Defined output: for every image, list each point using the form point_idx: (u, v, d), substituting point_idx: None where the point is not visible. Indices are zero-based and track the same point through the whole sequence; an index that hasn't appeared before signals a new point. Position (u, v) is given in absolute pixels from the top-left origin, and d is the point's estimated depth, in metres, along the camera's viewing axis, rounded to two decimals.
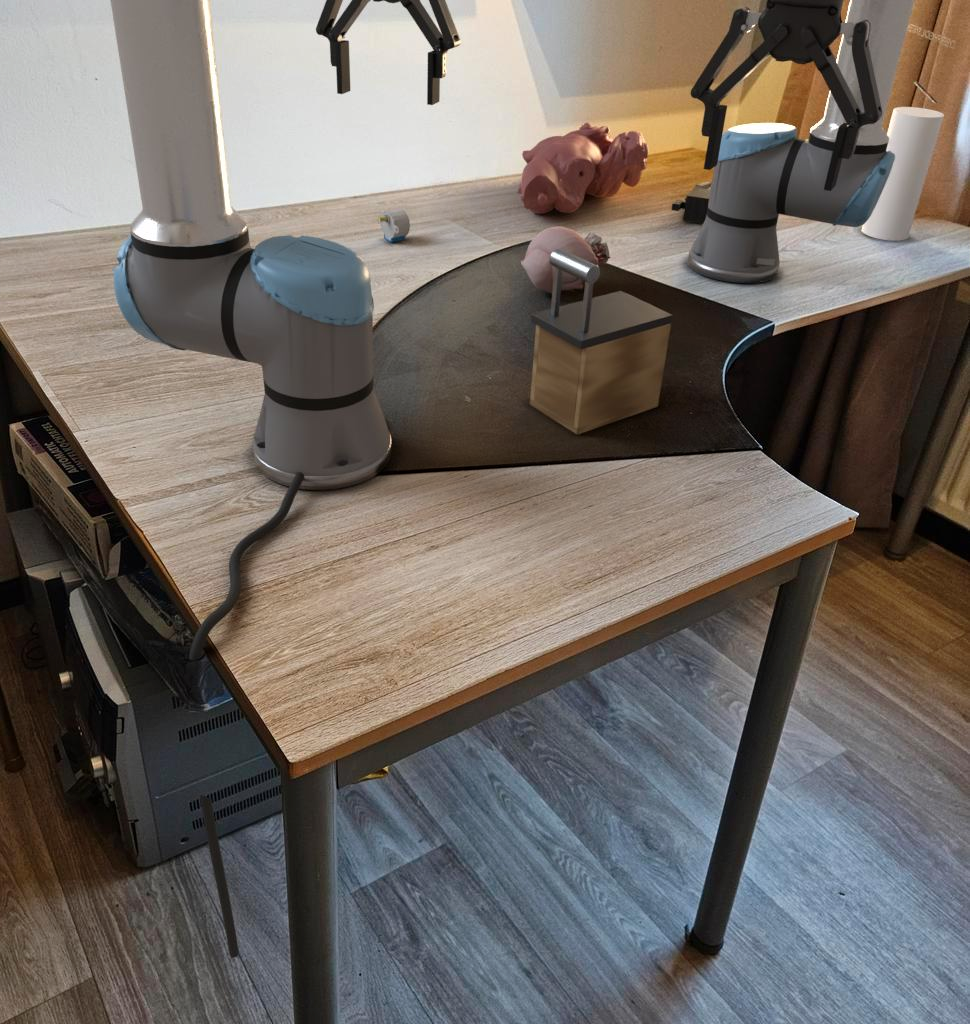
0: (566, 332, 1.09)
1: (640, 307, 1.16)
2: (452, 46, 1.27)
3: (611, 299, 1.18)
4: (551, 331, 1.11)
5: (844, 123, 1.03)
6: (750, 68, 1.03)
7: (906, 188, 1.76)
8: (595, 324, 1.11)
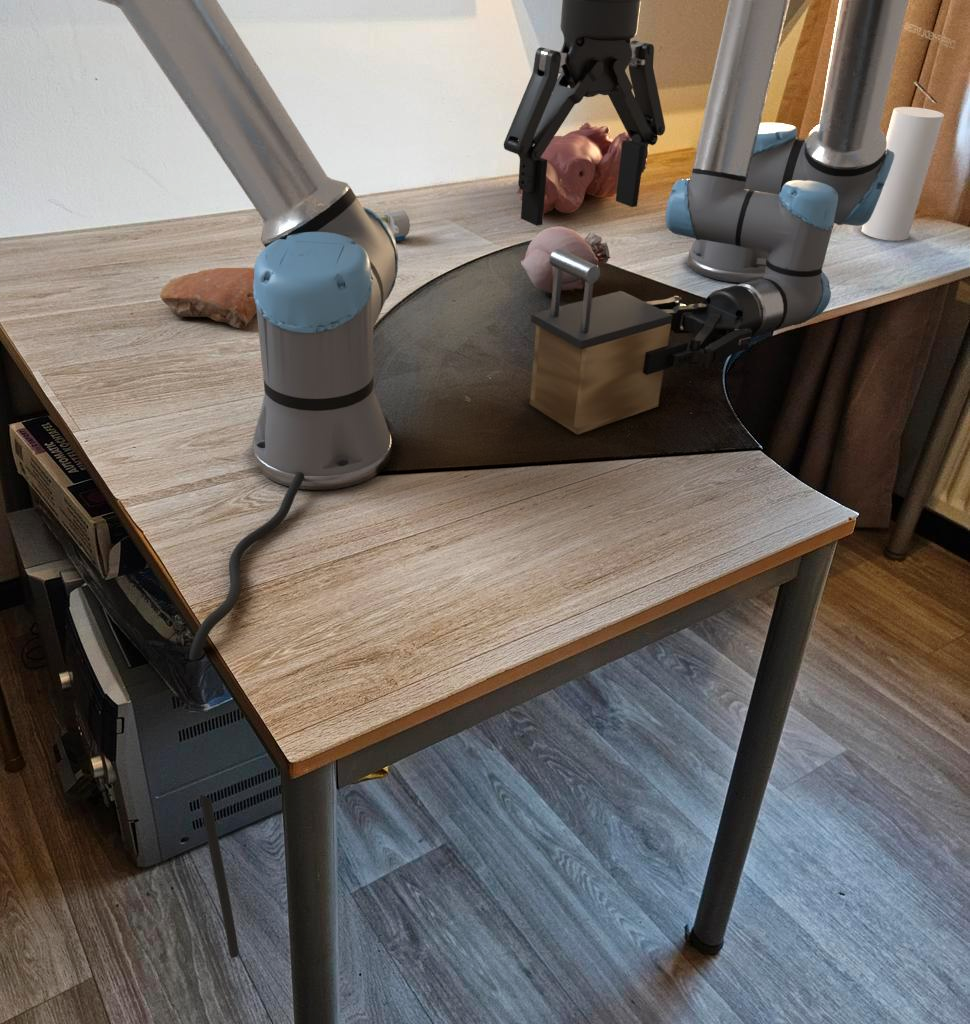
0: (566, 332, 1.09)
1: (640, 307, 1.16)
2: (663, 132, 1.04)
3: (611, 299, 1.18)
4: (551, 331, 1.11)
5: None
6: None
7: (906, 188, 1.76)
8: (595, 324, 1.11)
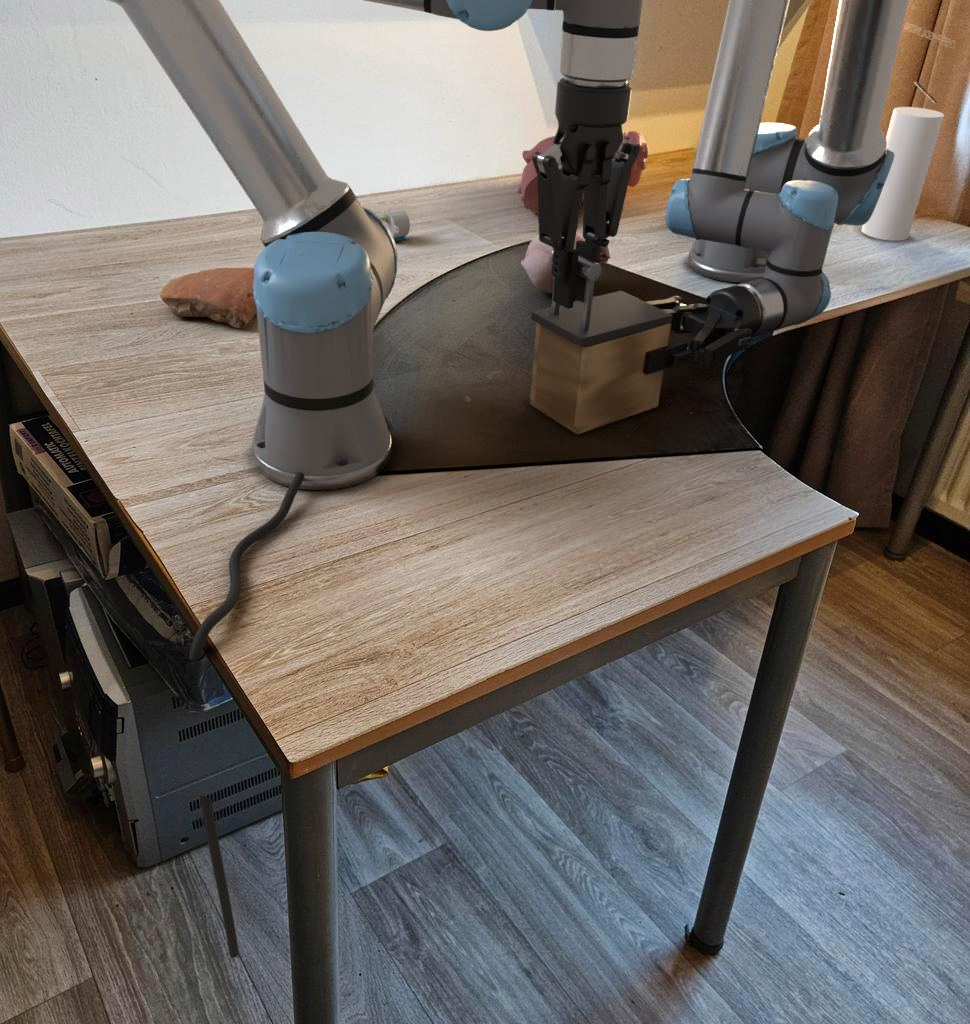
0: (566, 330, 1.09)
1: (640, 307, 1.16)
2: (614, 235, 1.07)
3: (611, 298, 1.18)
4: (551, 329, 1.11)
5: None
6: None
7: (906, 188, 1.76)
8: (595, 322, 1.11)
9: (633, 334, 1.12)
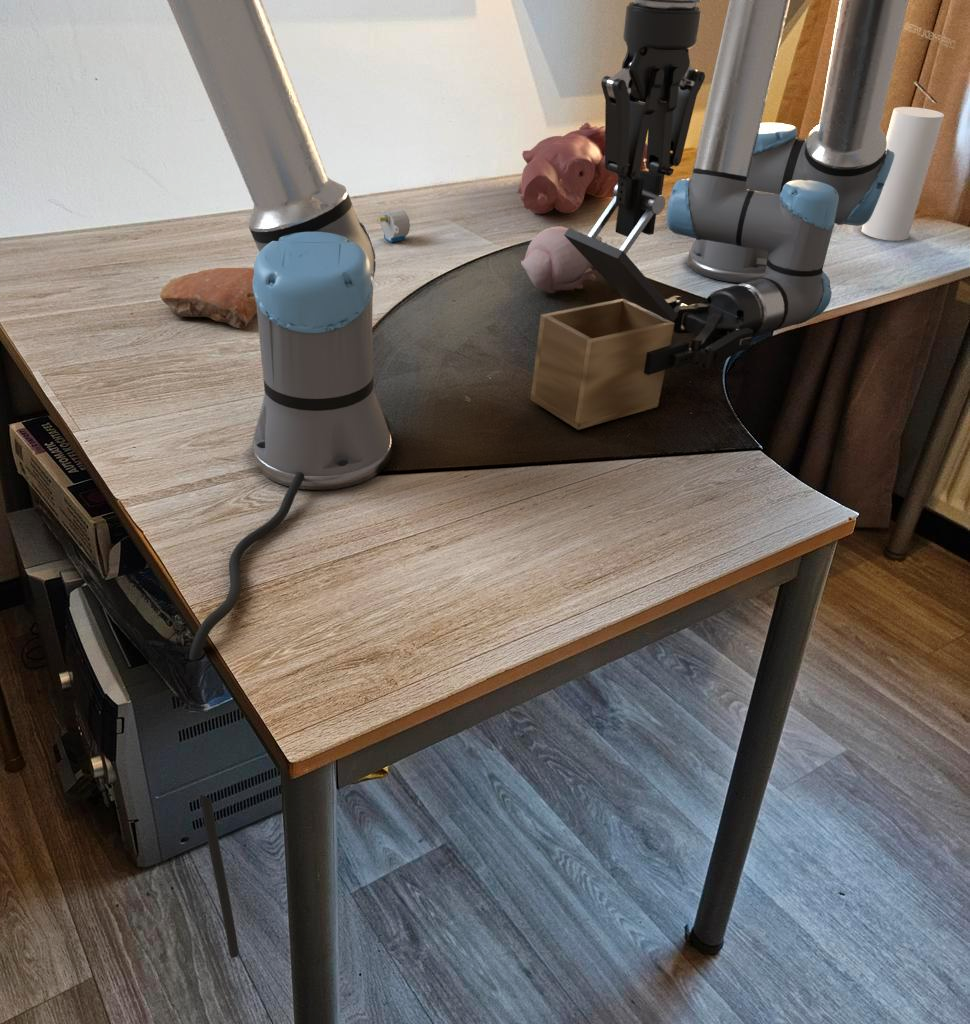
0: (606, 244, 1.06)
1: None
2: (677, 164, 1.08)
3: None
4: (586, 243, 1.08)
5: None
6: None
7: (906, 188, 1.76)
8: None
9: (637, 331, 1.12)
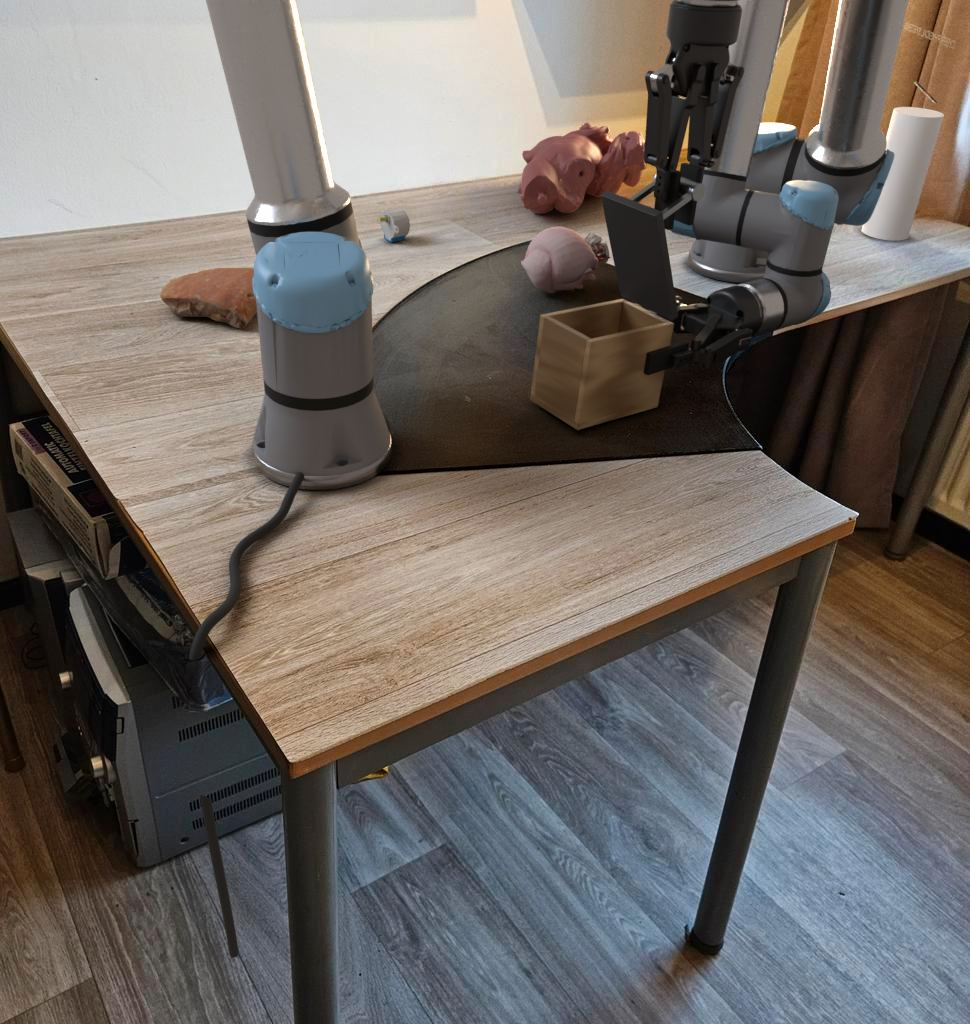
0: (645, 205, 1.07)
1: None
2: (717, 157, 1.11)
3: None
4: (623, 202, 1.08)
5: None
6: None
7: (906, 188, 1.76)
8: None
9: (637, 331, 1.12)
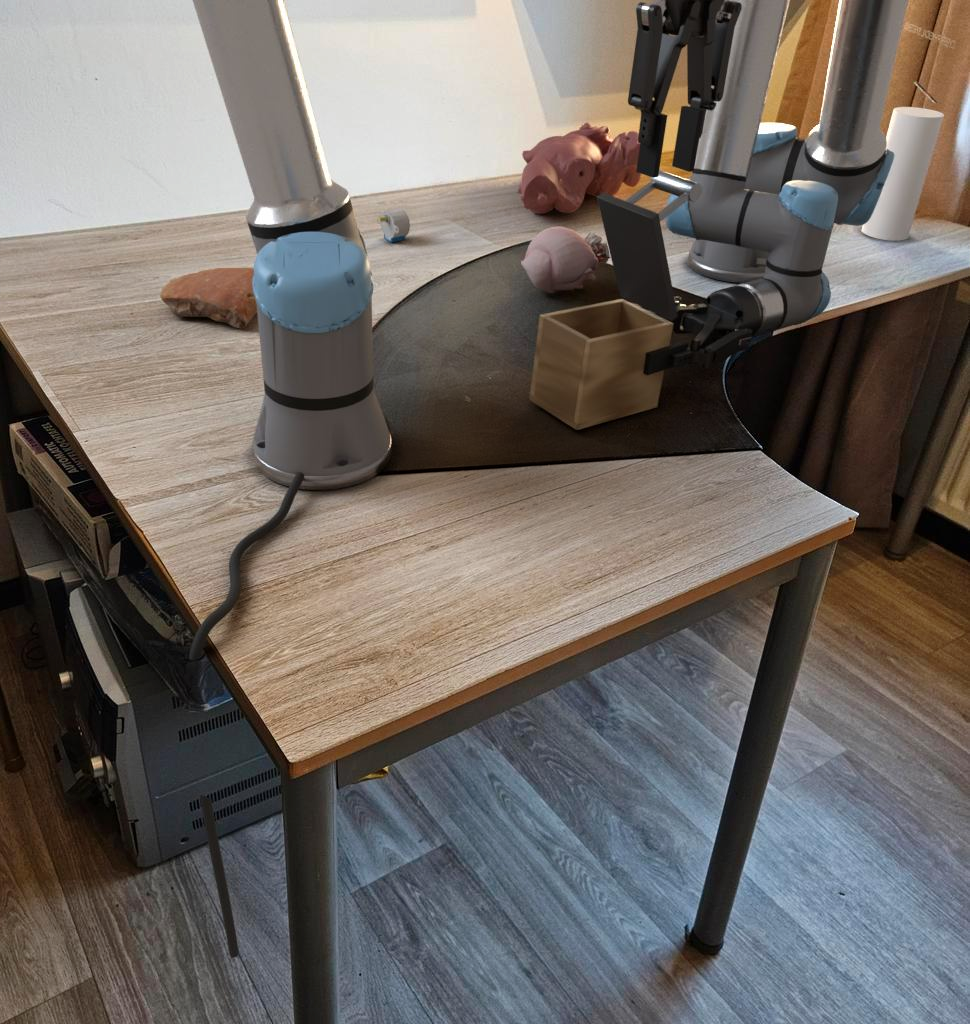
0: (641, 207, 1.06)
1: None
2: (719, 99, 1.07)
3: None
4: (620, 205, 1.08)
5: None
6: None
7: (906, 188, 1.76)
8: None
9: (636, 331, 1.12)
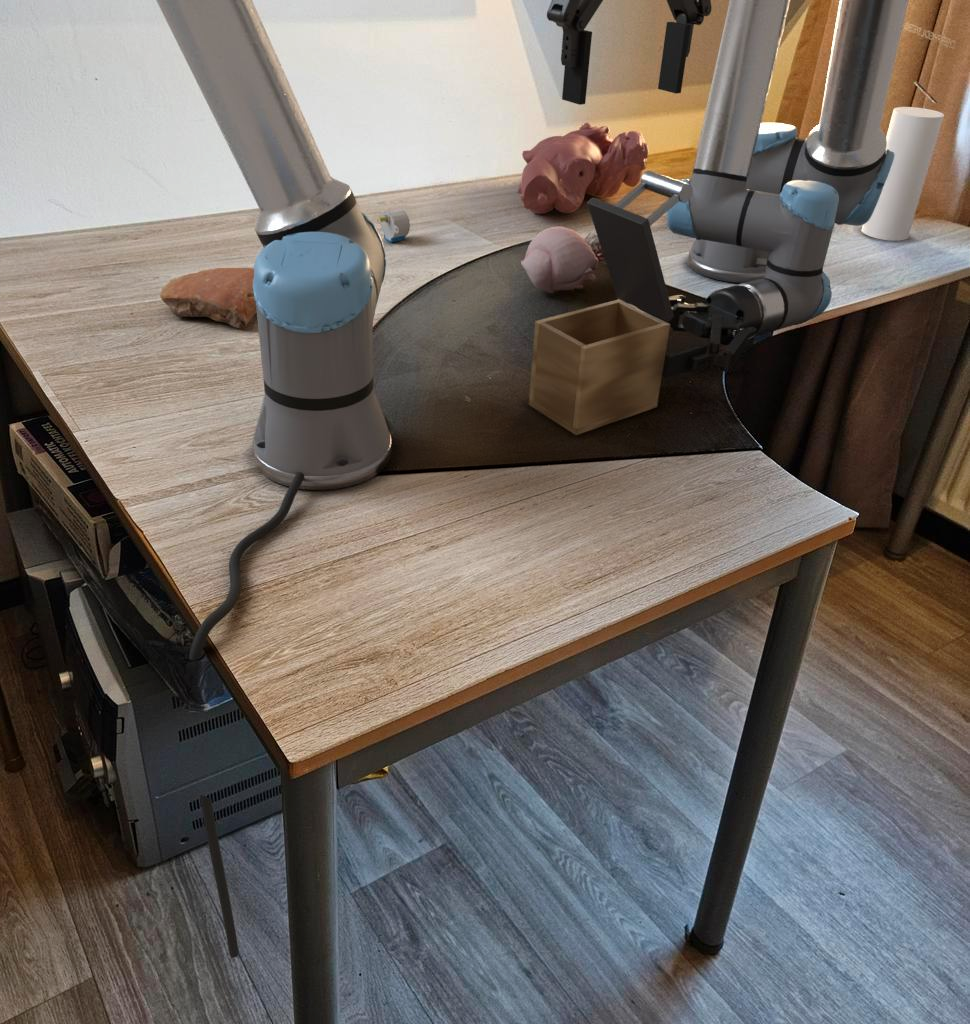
0: (631, 212, 1.06)
1: None
2: (709, 12, 1.00)
3: None
4: (609, 210, 1.07)
5: None
6: None
7: (906, 188, 1.76)
8: None
9: (632, 335, 1.12)
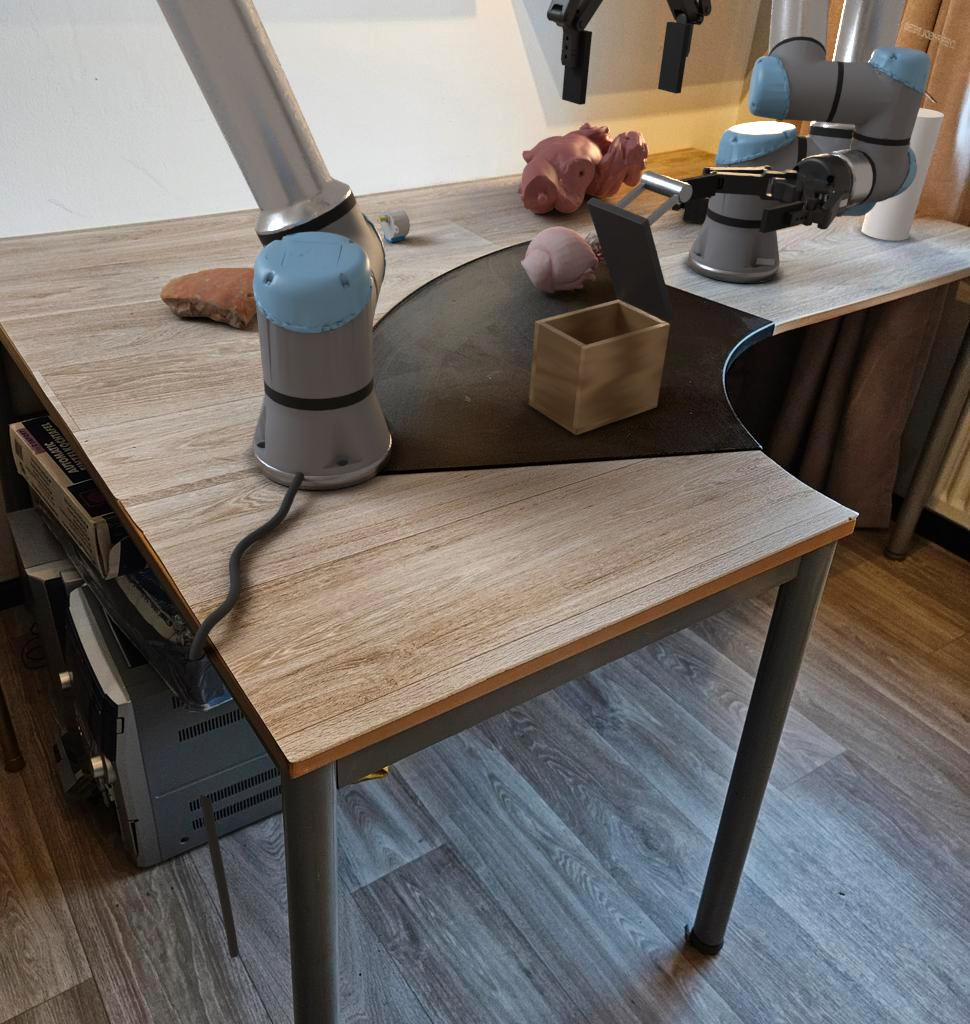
0: None
1: None
2: (709, 12, 1.00)
3: None
4: (609, 210, 1.07)
5: (717, 177, 1.24)
6: None
7: None
8: None
9: (632, 335, 1.12)
